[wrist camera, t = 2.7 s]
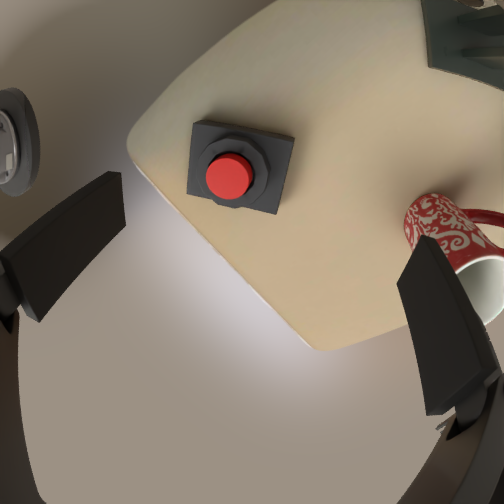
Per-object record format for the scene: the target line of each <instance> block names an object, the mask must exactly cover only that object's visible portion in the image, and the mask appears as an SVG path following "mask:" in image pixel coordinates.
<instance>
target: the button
mask: <svg viewBox="0 0 504 504" xmlns="http://www.w3.org/2000/svg"><path fill="white" fill-rule="evenodd" d="M206 181H207V184H208V187H209V188H210V190H211V191H212V192H213V193H214V194H215V195H217V196H218V197H220V198H223V199H235V198H238V197H240V196H241V195H243V194H244V193H245V191H246V190H247V188H248V186H249V185H250V183H251V181H252V169H251V166H250V164H249V163H248V161H247V160H246V159H245V158H243V157H242V156H240V155H237V154H233V153H228V154H224V155H221V156H220V157H218V158H217V159H216V160H215V161H214V162H213V163H212V164H211V165H210V166H209V167H208V169H207V173H206Z"/></svg>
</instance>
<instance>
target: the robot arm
mask: <svg viewBox="0 0 504 504" xmlns="http://www.w3.org/2000/svg"><path fill="white" fill-rule="evenodd" d="M20 161H21V146H20V139H19V134H18V130H17V127H16V124H15V122H14V119H13V118H12V116H11V115H10V113H9V112H8V111H6V110H4V109H0V184H3V183H7V182H8V181H10V180H12V179H13V178H15V176H16V175H17V173H18V171H19V167H20ZM125 226H126V222H125V213H124V203H123V192H122V178H121V173H120V172H111V171H108V172H106V173H104V174H103V175H101V176H99V177H98V178H96V179H95V180H93V181H91V182H90V183H88V184H87V185H85V186H84V187H82V188H81V189H79V190H78V191H76V192H75V193H74V194H72V195H71V196H69V197H68V198H66V199H65V200H64V201H62V202H61V203H59V204H58V205H56V206H55V207H54V208H52V209H51V210H50V211H48V212H47V213H46V214H44V215H43V216H42V217H41V218H39V219H38V220H37V221H35V222H34V223H33V224H32V225H31V226H29V227H28V228H27V229H26V230H24V231H23V232H22V233H21V234H20V235H19V236H17V237H16V238H15V239H14V240H13V241H11V242H10V243H9V244H8V245H7V246H6V247H5V248H4V249H3V250H1V251H0V504H46V503H45V502H44V501H43V500H42V498H41V497H40V495H39V493H38V491H37V487H36V484H35V481H34V477H33V473H32V469H31V465H30V461H29V457H28V452H27V447H26V442H25V436H24V431H23V424H22V417H21V408H20V397H19V381H18V334H19V312H18V310H17V308H18V306H19V305H20V304H21V306H22V307H23V309H24V311H25V313H26V315H27V316H29V317H30V318H32V319H34V320H35V321H37V322H41V320H42V319H43V317H44V316H45V315H46V314H47V313H48V311H49V310H50V309H51V307H52V306H53V305H54V304H55V303H56V301H57V300H58V299H59V298H60V296H61V295H62V294H63V293H64V292H65V290H66V289H67V288H68V287H69V286H70V285H71V283H72V282H73V281H74V280H75V279H76V278H77V277H78V275H79V274H80V273H81V272H82V271H83V270H84V269H85V268H86V266H87V265H88V264H89V263H90V262H91V261H92V260H93V259H94V258H95V257H96V256H97V255H98V254H99V253H100V251H101V250H102V249H103V248H104V247H105V246H106V245H107V244H108V243H109V242H110V241H111V240H112V239H113V238H114V237H115V236H116V235H117V234H118V233H119V232H120V231H121V230H122V229H123V228H124V227H125ZM397 287H398V290H399V293H400V297H401V300H402V303H403V307H404V310H405V314H406V317H407V321H408V325H409V328H410V333H411V336H412V340H413V345H414V349H415V354H416V358H417V363H418V367H419V373H420V378H421V383H422V389H423V395H424V402H425V409H426V415H427V416H430V415H443V414H444V413H446V412H447V411H448V410H450V409H451V408H452V407H453V406H455V411H456V413H455V414H454V415H452V416H451V417H449V418H448V419H447V420H445V421H444V422H442V423H441V424H439V425H438V426H437V428H436V430H439V429H440V428H442V427H443V426H445V425H446V427H445V429H444V430H443V431H441V432H440V433H441V437H440V438H439V440H438V442H437V444H436V445H435V447H434V449H433V451H432V453H431V454H430V456H429V458H428V459H427V461H426V463H425V464H424V466H423V467H422V469H421V470H420V472H419V473H418V475H417V477H416V478H415V479H414V481H413V482H412V484H411V485H410V487H409V488H408V489H407V491H406V492H405V493H404V495H403V496H402V497H401V499H400V500H399V501H398V503H397V504H504V373H502V370H501V367H500V364H499V362H498V359H497V356H496V353H495V351H494V348H493V346H492V343H491V341H489V340H490V338H489V336H488V333H487V332H486V328H485V326H484V324H483V322H482V319H481V318H480V317H479V315H478V314H477V313H476V311H475V310H474V308H473V306H472V304H471V302H470V300H469V298H468V295H467V294H466V292H465V290H464V288H463V286H462V284H461V282H460V280H459V278H458V276H457V275H456V273H455V271H454V269H453V267H452V266H451V264H450V262H449V260H448V259H447V257H446V255H445V254H444V252H443V250H442V249H441V247H440V245H439V244H438V242H437V241H436V239H435V238H433V237H429V236H426V235H423V234H421V236H420V238H419V240H418V242H417V245H416V247H415V249H414V251H413V253H412V255H411V257H410V259H409V261H408V263H407V265H406V267H405V269H404V271H403V272H402V274H401V276H400V278H399V280H398V282H397Z"/></svg>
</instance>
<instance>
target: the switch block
mask: <svg viewBox="0 0 504 504" xmlns="http://www.w3.org/2000/svg"><path fill="white" fill-rule="evenodd" d="M294 140H295V138H293V137H288V136H284V135H280V134H276V133H271V132H266V131H262V130H257V129H252V128H247V127H241V126H236V125H230V124H224V123H218V122H211V121H205V120H200V121H197V122H195V123H193V129H192V138H191V147H190V158H189V169H188V182H187V194H189V195H194V196H198V197H203V198H207V199H212V200H213V201H214V202H215V203H217V204H218V205H222V206H227V207H231V208H239V207H246V208H250V209H254V210H258V211H263V212H267V213H271V214H275V215H276V214H277V210H278V207H279V203H280V198H281V194H282V190H283V186H284V182H285V178H286V174H287V170H288V165H289V161H290V157H291V153H292V149H293V144H294ZM228 153H233V154H237V155H240V156H242V157H243V158H245V159H246V160H247V161H248V163H249V164H250V166H251V169H252V181H251V183H250V185H249V186H248V188H247V190H246V191H245V193H244V194H243V195H241V196H240V197H238V198H235V199H223V198H220V197H218V196H217V195H215V194H214V193H213V192H212V191H211V190H210V188H209V187H208V184H207V181H206V173H207V169H208V167H209V166H210V165H211V164H212V163H213V162H214V161H215V160H216V159H217V158H218V157H220V156H221V155H224V154H228Z"/></svg>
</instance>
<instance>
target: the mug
mask: <svg viewBox="0 0 504 504" xmlns="http://www.w3.org/2000/svg"><path fill="white" fill-rule="evenodd" d="M474 223H482V224H489V225H495V226H499V227H503V228H504V214H503V213H500V212H495V211H489V210H481V209H460V208H458V207H457V206H456V205H455V204H454V203H453V202H452V201H451V200H450V199H449V198H447V197H446V196H444V195H442V194H437V193H432V194H427V195H424V196H422V197H420V198H418V199H417V200H416V201H415V202H414V203H413V204H412V205H411V206H410V208H409V209H408V211H407V213H406V216H405V220H404V229H405V234H406V237H407V239H408V242H409V244H410V247H411V250H412V253H413V251H414V249H415V247H416V245H417V242H418V240H419V238H420V236H421V234H423V235H426V236H429V237H433V238H435V239H436V241H437V242H438V244H439V245H440V247H441V249H442V250H443V252H444V254H445V255H446V257H447V259H448V260H449V262H450V264H451V266H452V267H453V269H454V271H455V273H456V275H457V276H458V278H459V280H460V282H461V284H462V286H463V288H464V290H465V292H466V294H467V295H468V298H469V300H470V302H471V304H472V306H473V308H474V310H475V311H476V313H477V314H478V315H479V317H480V318H481V319H482V322H483V324H484V326H485V325H486V324H488V323H489V322H490V321H492V320H493V319H494V318H495V317H496V316H497V315H498V314H499V313H500V312H501V311H502V310H503V309H504V249H502V248H499V247H498V246H496V245H495V244H493V243H492V242H491V241H490V240H489V239H488V238H487V237H486V236H485V235H484V234H483V232H482V231H481V230H480V229H479V228H478V227H477V226H476V225H475V224H474Z"/></svg>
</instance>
